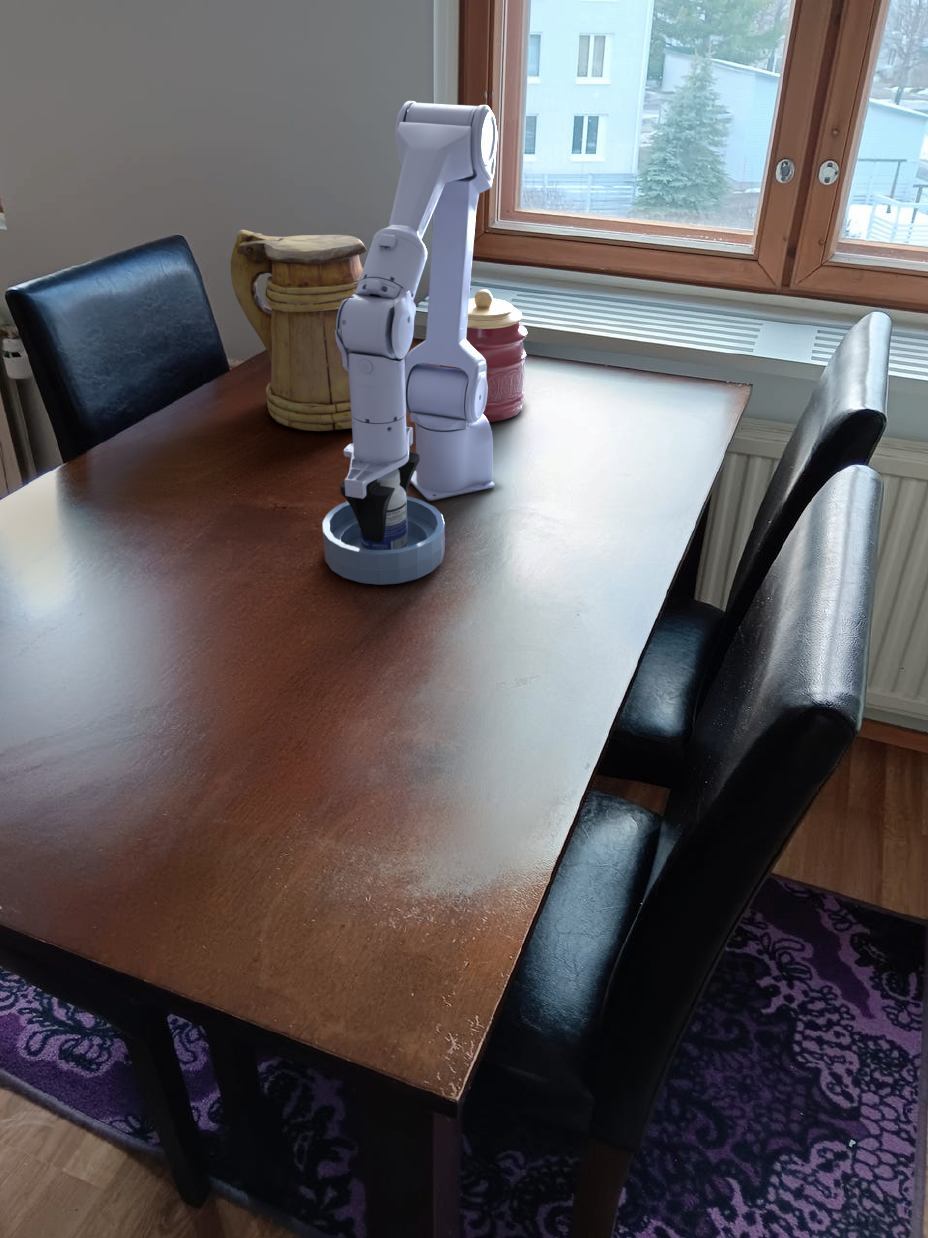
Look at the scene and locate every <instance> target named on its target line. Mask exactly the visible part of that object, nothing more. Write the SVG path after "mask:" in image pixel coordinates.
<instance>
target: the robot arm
mask: <svg viewBox="0 0 928 1238" xmlns="http://www.w3.org/2000/svg"><path fill="white" fill-rule="evenodd" d="M496 124H497V123H496V117H495V114H494V113H493V111H492V109H491V108H490V106H489V105H487V104H480V105H465V104H447V103H446V104H445V103H429V102H428V103H427V102H416V101H415V100H407V101H406V102H404V103H403V105H402V107H401V109H400V110H399V111H398V114H397V116H396V121H395V129H394V139H395V140H394V141H395V146H396V147H395V148H396V153H397V158H398V159H397V160H398V163H399V166H400V169H401V170H400V172H399V173H400V174H399V179H398V183H397V187H396V191H395V196H394V200H393V205H392V210H391V213H390V219H389V222H388V226H387V227H384V228H382V229H380V230H378V231H377V232H375V234H374V235H373V238H372V241H371V243H370V246H369V250H368V253H367V256H366V259H365V261H364V265H363V267H362V268H363V271H362V274H361V277H360V280H359V283H358V286H357V289H356V292H355V294H354V295H352V296H351V298H349V299H345V300H344V301H343V302H342V303H341V305H340V307H339V310H338V314H337V320H336V330H335V336H336V342H337V345H338V347H339V349H340V351H341V353H342V359H343V367H344V369H345V370H346V371H348V372H349V384H350V401H351V417H352V428H351V433H352V443H349V444H348V445H347V446H346V447H345V448H344V449H343V456H344V457H346V458H350V463H349V469H348V470H349V471H348V473H347V476H346V477H345V478H344V480H342V481H341V483H340V484H339V487H340V488H339V490H340V495H341V496H342V497H344V499H345V500H346V502H347V501H348V503H349V504H350V506H351V508H352V509H353V511H354V514H355V516H356V519H357V521H358V524H359V527H360V530H361V533H362V536H363V538H364V540H367V541H373V542H378V543H380V542H382V540H383V538H384V534H385V526H386V514H387V509H388V505H389V501H390V499H391V496H392V494H393V492H394V490H395V488H391V487H385V486H380V482H379V483H378V482H377V479H378V478H380V477H382V476H384V475H385V474H387V473H389V472H391V471H393V470H395V469H398V470H399V473H400V484H399V485H400V486H401V487H402V488H403V489H404V490H405V492H406V497H407V496H408V492H409V488H410V484H411V485H412V486H413V487H415V489H416V490H418V492H419V493H420V494H421V495H422V496H423V497H424V498H425V499H426V500H427V501H429V502H430V501H431V502H432V501H436V500H441V499H446V498H450V497H455V496H460V495H464V494H469V493H473V492H474V493H475V492H477V491H483V490H487V489H488V490H489V489H492V488H494V487H495V482H494V481H493V454H494V453H493V451H494V450H493V449H494V440H493V439H494V438H493V437H494V436H493V431H492V427H491V423H490V422H488V420H487V418H486V417H485V416H484V415H483V412H484V410H485V406H486V401H487V393H488V385H487V379H486V369H487V365H486V360H485V359H484V358H483V356H482V355H481V354H479V353H478V352H477V351H476V350H475V349H474V348H473V347H472V346H471V345H470V344H469V343H468V342H467V340H466V333H467V320H468V307H469V299H470V295H471V294H470V292H471V282H472V281H471V280H472V269H473V268H472V267H473V254H474V241H475V229H476V216H477V210H478V209H477V208H478V202H479V197H480V194H481V193H484V192H486V191H488V190H490V189H491V188H492V186H493V179H494V176H495V171H496V170H495V169H496V157H497V145H498V130H497V125H496ZM432 216H433V222H432V237H431V252H430V253H431V254H430V266H429V267H430V271H429V282H428V283H429V285H428V298H427V299H428V300H427V301H428V302H427V315H426V317H427V318H426V330H425V331H426V333H425V340H423V341H422V342H420V343H419V344H417V345H416V346H415V347H413V348H411V345H412V343H413V339H414V338H413V337H414V330H415V316H416V313H417V312H416V311H417V306H416V303H415V301H414V300H415V297H416V294H417V291H418V287H419V284H420V281H421V278H422V275H423V272H424V269H425V265H426V262H427V259H428V250H427V248H426V245H425V243H424V242H423V237H424V234H425V233H426V230H427V228H428V225H429V224H430V220H431V218H432ZM410 348H411V349H410ZM440 365H443V366H450V367H457V368H460V369H455V368H447V367H440ZM407 414H409V415H410V422H411V423H414V424H415V452H411V451H410V447H411V446H412V445H413V444H414V428H413V426H407Z"/></svg>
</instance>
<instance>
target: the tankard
mask: <svg viewBox="0 0 928 1238" xmlns="http://www.w3.org/2000/svg"><path fill="white" fill-rule="evenodd" d="M236 237H237V238H236V241H235V243H234V245H233V248H232V251H231V257H230V277H231V285H232V287H233V291H234V294H235V298H236V299H237V301H238V304H239V306H240V308H241V309H242V312H243V313H244V315H245V317H246V319H247V320H248V322H249V323H250V325H251V327H252V329H254V331H255V333H256V335H257V336H258V337H259V339H260V341H261V343H262V344H263V346H264V348H265V350H266V351H267V353H268V356H269V359H270V363H271V367H270V368H271V376H270V377H271V378H270V379H271V380H270V381H269V382H268V384H267V386H266V388H265V395H266V402H267V403H266V404H267V409H268V413H269V415H270V417H272V419H274V421H275V422H276V423H278V424H279V425H282V426H285V427H288V428H291V429H296V430H301V431H308V432H309V431H310V432H330V431H342V430H348V429H352V417H351V401H350V384H349V372H348V371H346V370H345V369H344V367H343V359H342V353H341V351H340V349H339V347H338V345H337V342H336V336H335V330H336V320H337V314H338V310H339V307H340V305H341V303H342V302H343V301H344V300H345V299H349V298H351V296H352V295H354V294H355V292H356V289H357V286H358V283H359V280H360V277H361V274H362V271H363V268H364V267H363V266H362V263H361V260H360V256H361V255H362V254H364V253H366V252H367V248H366V246H365V244H364V243H363V241H362V240H361V239H359V238H358V237H356V236H354V235H353V236H352V235H344V234H305V235H303V234H302V235H291V236H274V235H273V236H272V235H271V236H269V235H264V234H262V233H260V232H253V231H251V230H246V229H240V230H239V231H237V234H236ZM265 274H270V276H268V277H267V278H266V287H265V292H264V298H265V302H266V303H267V305H268V306H267V305H266V303H264V301H263V299H262V298H261V296H260V294H259V292H258V288H259V287H258V282H259V280H260V279H261V277H262V275H265Z"/></svg>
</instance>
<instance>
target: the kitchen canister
mask: <svg viewBox="0 0 928 1238" xmlns="http://www.w3.org/2000/svg"><path fill="white" fill-rule="evenodd" d="M522 319H523V314H522V312H521V311H520V310H519V309H518V308H516V307H514V305H512V304H511V303H510V302H508V301H506V300H503V299H499V298H493V294H492V293H491V291H490V290H488V289H485V288H483V289H479V290H478V291H476V293H475V294H474V297H473V298H472V297H471V298H469V307H468V320H467V333H466V340H467V342H468V343H469V344H470V345H471V346H472V347H473V348H474V349H475V350H476V351H477V352H478V353H479V354H481V355H482V356H483V358H484V359H485V360H486V365H487V369H486V379H487V385H488V393H487V401H486V406H485V410H484V412H483V415H484V416H485V417H486V418H487V420H488V422H489V423H492V422H493V423H494V422H499V421H506V420H509V419H510V418H514V417H516V416H517V415H518V414H519V413H520V412H521V411H522V410H523V404H524V402H525V394H526V393H525V390H524V389H525V388H524V386H525V368H526V367H525V365H526V357H527V351H526V350H525V348H524V340H525V339H526V337H527V336H528V330H527V328H526V326H524V324H523V323H521V320H522ZM439 366H440V367H447V368H455V369H460V368H457V367H450V366H443V365H439Z"/></svg>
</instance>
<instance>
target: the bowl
mask: <svg viewBox="0 0 928 1238" xmlns="http://www.w3.org/2000/svg"><path fill="white" fill-rule="evenodd" d="M406 499H407V538H408V547H404V548H400V549H393V550H369V549H361V542H360V528H359V524H358V521H357V519H356V516H355V514H354V511H353V509H352V508H351V506H350V504H349V503H348V501H347V500H346V501H345V502H343V503H342V502H341V503H340V504H338V505H336V506H335V507H333V508H332V509H331V510H329V511H328V512H327V513H326V515H325V516H324V518H323V519H322V523H321V527H322V541H323V552H324V562H325V563H326V564H327V566H328V567H329V569H330V570H331V571H332V572H334V573H335V574H337V575H338V576H340V577H342V578H344V579H347V580H350V581H353V582H356V583H361V584H368V585H376V586H377V585H380V586H382V585H383V586H384V585H395V584H396V585H397V584H403V583H406V582H411V581H414V580H418V579H420V578H422V577H424V576H426V575H429V574H430V573H432V572H433V571H434V570H436V569H437V568H438V566H439V565H440V564H441V563H442V561H443V559H444V556H445V554H446V551H445V549H446V547H445V546H446V544H445V543H446V541H445V540H446V538H445V537H446V532H445V531H446V530H445V528H446V524H445V519H444V516H443V514H442V513H441V512H440V511H439V510H438V509H437V508H436V506H434V505H432V504H430V503H428V502H426V501H424V500H423V499H419V498H415V497H412V496H408V495H407V497H406Z"/></svg>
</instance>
